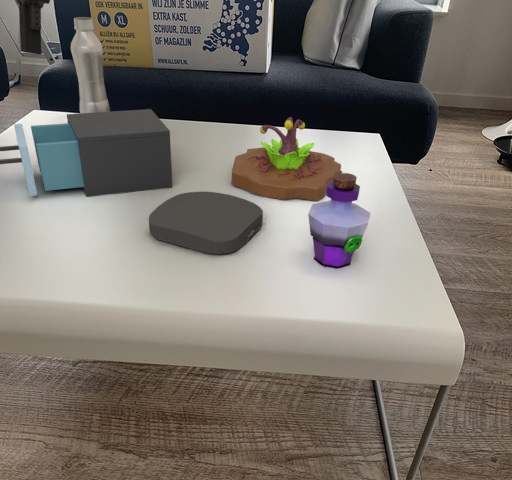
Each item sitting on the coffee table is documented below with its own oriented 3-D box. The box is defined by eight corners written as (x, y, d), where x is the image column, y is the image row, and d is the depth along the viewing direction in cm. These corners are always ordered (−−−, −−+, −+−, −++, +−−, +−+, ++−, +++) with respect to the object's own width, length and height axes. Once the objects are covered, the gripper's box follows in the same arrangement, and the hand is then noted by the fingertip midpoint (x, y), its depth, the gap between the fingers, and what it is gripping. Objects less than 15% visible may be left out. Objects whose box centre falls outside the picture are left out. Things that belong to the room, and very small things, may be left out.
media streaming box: (139, 237, 79) (137, 217, 77) (189, 201, 90) (188, 183, 88) (229, 261, 75) (229, 241, 73) (270, 220, 86) (271, 202, 84)
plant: (217, 191, 94) (217, 123, 87) (245, 154, 109) (247, 94, 102) (332, 207, 91) (342, 139, 84) (345, 167, 106) (354, 106, 99)
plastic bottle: (115, 119, 123) (104, 17, 110) (105, 128, 117) (92, 22, 105) (88, 117, 123) (74, 15, 111) (76, 125, 118) (60, 19, 106)
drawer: (-5, 199, 85) (-18, 149, 80) (-7, 173, 93) (-19, 126, 88) (115, 187, 91) (109, 139, 86) (102, 163, 99) (97, 118, 94)
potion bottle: (344, 281, 72) (359, 195, 65) (290, 259, 76) (298, 176, 69) (373, 257, 78) (390, 175, 70) (322, 238, 82) (333, 159, 74)
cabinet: (86, 196, 89) (77, 137, 83) (75, 169, 98) (66, 114, 92) (172, 187, 94) (169, 130, 88) (154, 162, 103) (151, 108, 97)
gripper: (75, -125, 77) (74, 60, 87) (26, -119, 84) (30, 52, 94) (26, -147, 72) (31, 53, 82) (-23, -138, 78) (-13, 45, 89)
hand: (31, 52), depth 88 cm, fingers closed
